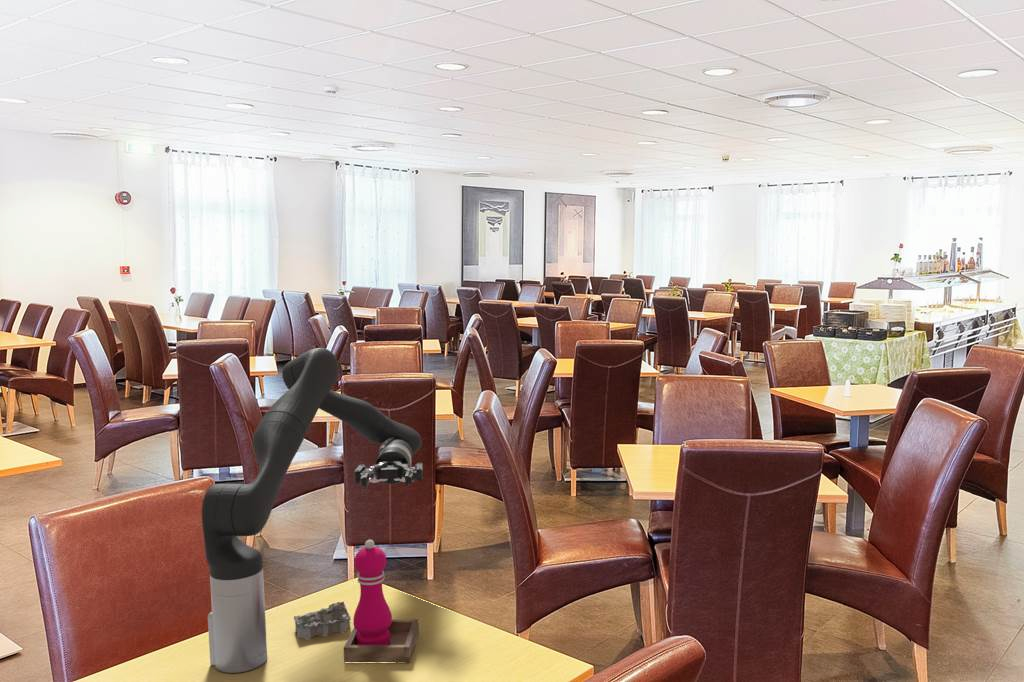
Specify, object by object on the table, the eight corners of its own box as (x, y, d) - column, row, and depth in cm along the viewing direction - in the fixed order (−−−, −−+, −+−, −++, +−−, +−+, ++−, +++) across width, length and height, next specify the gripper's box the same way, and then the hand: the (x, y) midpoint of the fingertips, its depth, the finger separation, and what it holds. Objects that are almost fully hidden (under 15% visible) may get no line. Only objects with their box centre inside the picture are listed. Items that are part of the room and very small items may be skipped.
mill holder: (344, 663, 154) (343, 647, 154) (358, 634, 166) (357, 619, 166) (409, 663, 154) (409, 647, 153) (419, 634, 166) (418, 619, 165)
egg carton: (346, 619, 174) (346, 600, 174) (352, 634, 167) (351, 614, 167) (293, 627, 171) (293, 607, 170) (297, 642, 164) (296, 622, 163)
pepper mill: (385, 652, 156) (381, 547, 154) (348, 650, 157) (343, 545, 155) (397, 635, 163) (394, 534, 161) (362, 633, 164) (358, 533, 162)
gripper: (361, 447, 189) (350, 464, 173) (425, 445, 189) (420, 462, 173) (362, 480, 189) (351, 500, 173) (426, 478, 190) (421, 498, 174)
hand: (385, 481), depth 173 cm, fingers open, 8 cm apart
